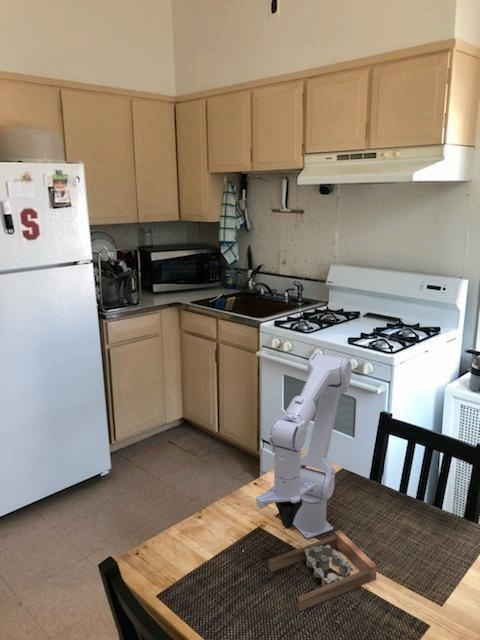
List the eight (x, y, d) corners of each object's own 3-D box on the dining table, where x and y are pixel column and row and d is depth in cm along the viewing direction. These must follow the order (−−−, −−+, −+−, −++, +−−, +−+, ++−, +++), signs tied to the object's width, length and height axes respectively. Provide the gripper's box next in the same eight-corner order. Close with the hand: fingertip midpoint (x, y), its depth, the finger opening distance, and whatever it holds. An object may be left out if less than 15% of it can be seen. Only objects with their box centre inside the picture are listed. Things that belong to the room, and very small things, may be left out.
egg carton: (354, 585, 113) (355, 569, 111) (323, 594, 110) (324, 578, 109) (331, 553, 122) (331, 538, 121) (302, 560, 120) (302, 545, 119)
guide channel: (268, 568, 117) (268, 555, 116) (339, 542, 125) (339, 529, 124) (300, 611, 106) (300, 597, 105) (375, 579, 114) (376, 565, 113)
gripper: (267, 490, 107) (267, 546, 111) (325, 472, 113) (324, 526, 117) (251, 474, 113) (252, 527, 117) (307, 458, 119) (306, 509, 123)
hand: (287, 525), depth 117 cm, fingers closed
